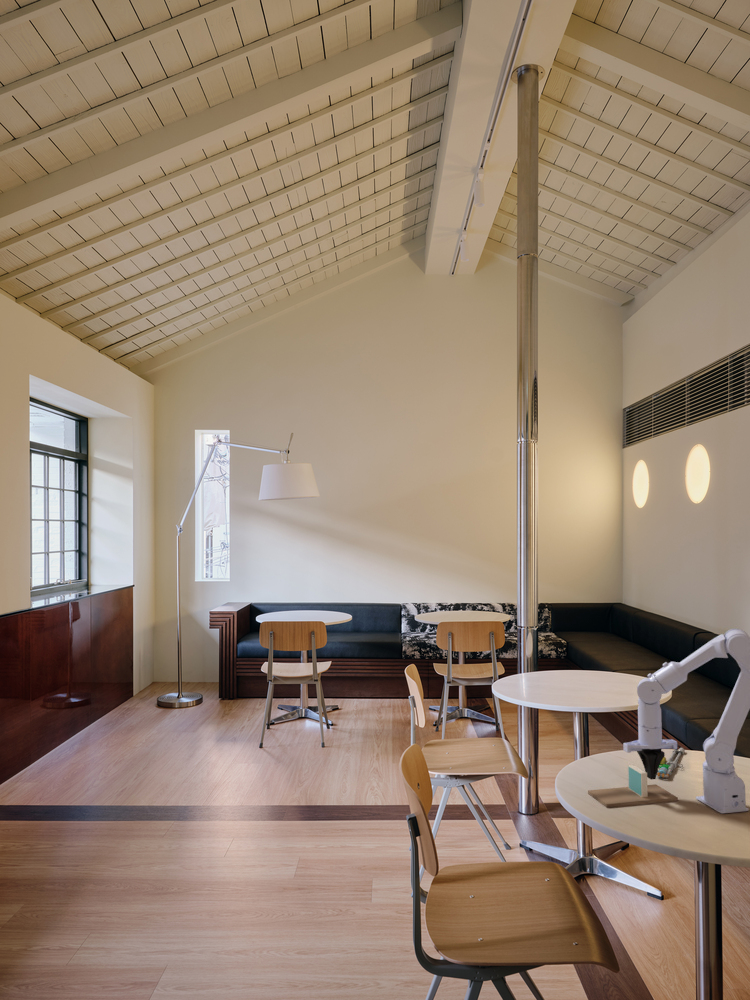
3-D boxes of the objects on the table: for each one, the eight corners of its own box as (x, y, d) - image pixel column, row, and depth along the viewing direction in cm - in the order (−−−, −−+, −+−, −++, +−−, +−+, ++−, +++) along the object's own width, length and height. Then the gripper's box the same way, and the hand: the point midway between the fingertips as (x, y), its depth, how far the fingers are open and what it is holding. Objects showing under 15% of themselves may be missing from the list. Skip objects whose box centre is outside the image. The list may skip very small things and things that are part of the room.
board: (677, 800, 168) (677, 797, 168) (606, 807, 164) (606, 804, 164) (656, 787, 177) (656, 784, 177) (588, 793, 173) (588, 790, 173)
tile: (647, 796, 169) (647, 772, 169) (641, 797, 168) (641, 773, 168) (634, 787, 174) (633, 764, 175) (628, 788, 174) (627, 765, 174)
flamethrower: (637, 775, 185) (676, 784, 180) (638, 765, 186) (676, 774, 180) (656, 748, 210) (690, 756, 204) (656, 740, 210) (691, 747, 205)
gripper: (664, 719, 178) (666, 770, 178) (616, 722, 175) (617, 774, 175) (681, 727, 171) (683, 780, 171) (631, 730, 169) (632, 784, 168)
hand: (651, 777), depth 172 cm, fingers closed
